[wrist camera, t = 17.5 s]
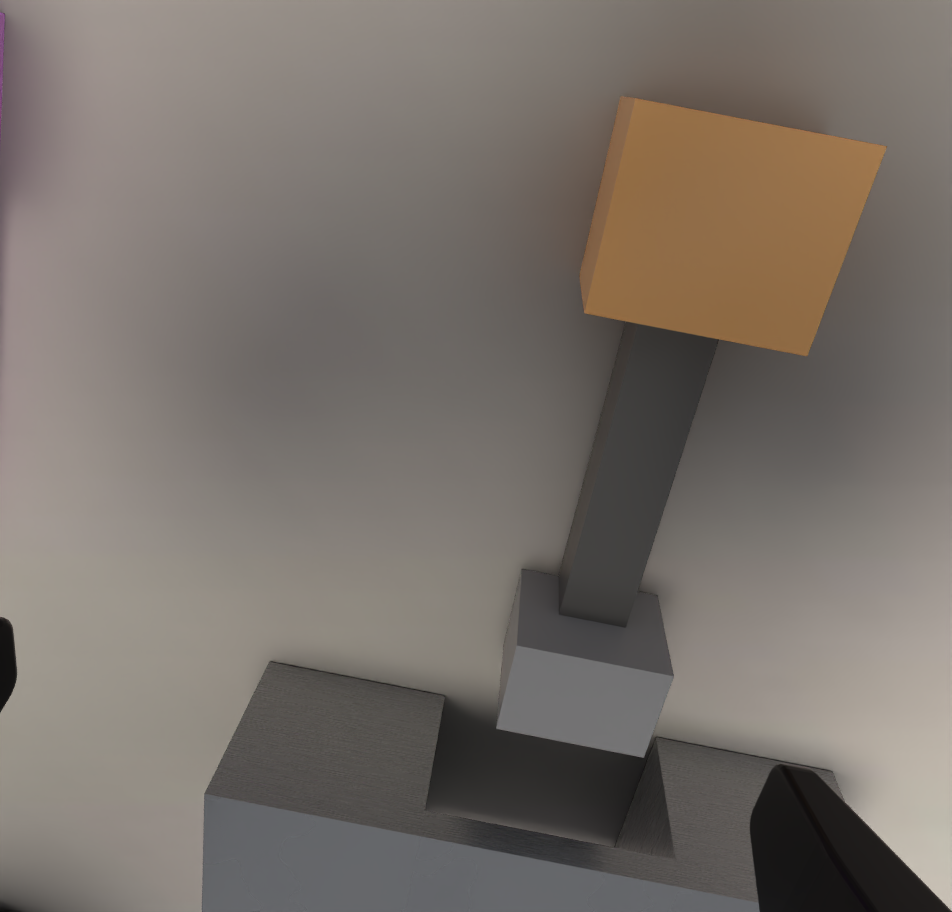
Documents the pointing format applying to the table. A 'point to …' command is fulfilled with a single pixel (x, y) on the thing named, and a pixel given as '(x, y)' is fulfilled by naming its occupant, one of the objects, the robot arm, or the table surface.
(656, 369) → the plug
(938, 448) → the table surface
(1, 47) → the bracket
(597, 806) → the table surface
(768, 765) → the block
